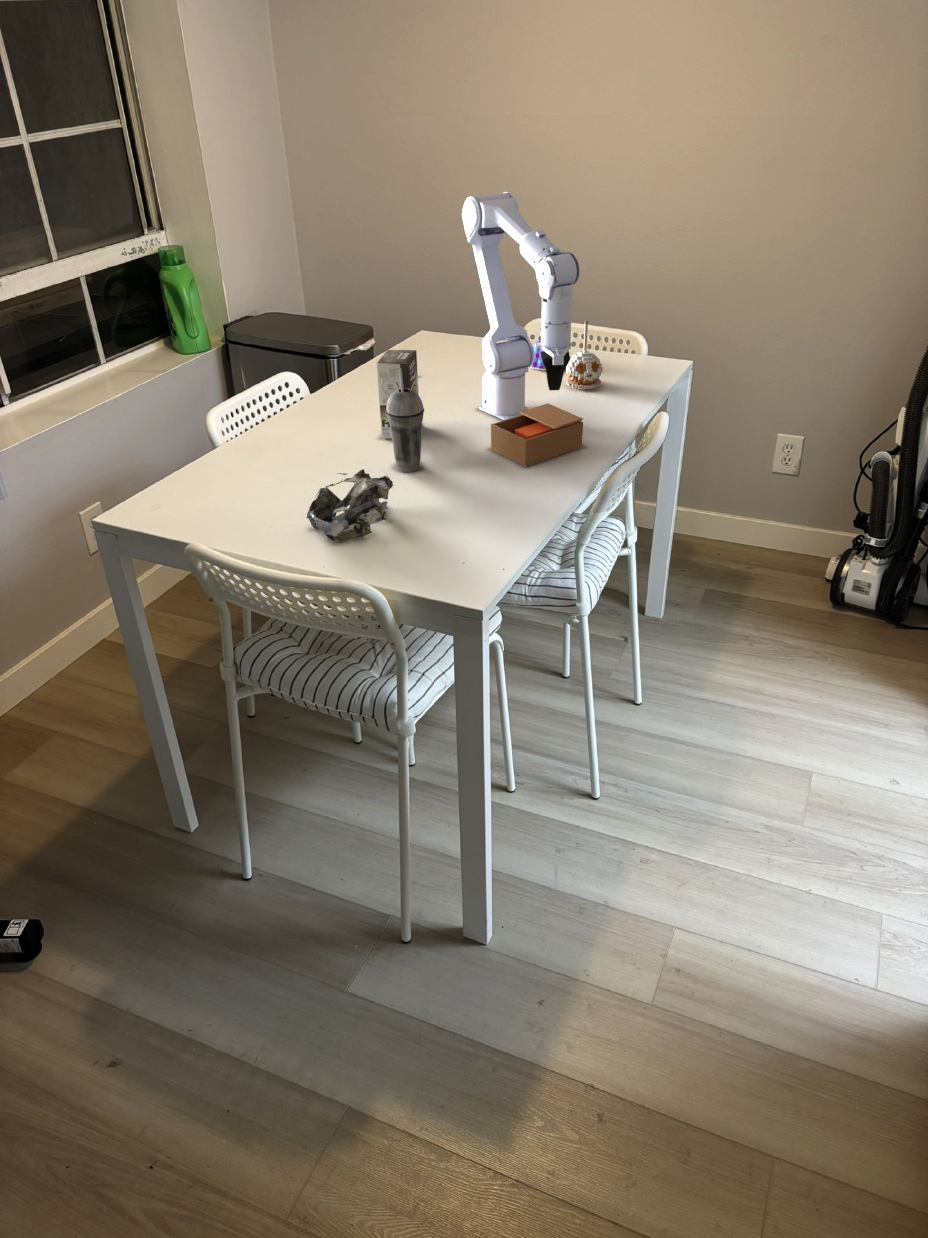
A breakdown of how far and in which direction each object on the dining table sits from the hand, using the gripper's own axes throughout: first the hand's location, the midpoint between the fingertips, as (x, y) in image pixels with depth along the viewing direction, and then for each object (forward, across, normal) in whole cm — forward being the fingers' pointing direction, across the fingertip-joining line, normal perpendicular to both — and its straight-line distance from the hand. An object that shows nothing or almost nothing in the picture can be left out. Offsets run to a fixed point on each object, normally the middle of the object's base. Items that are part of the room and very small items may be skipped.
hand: (554, 389), depth 190 cm
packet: (+10, +5, -4) cm, 12 cm away
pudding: (+11, -46, +2) cm, 47 cm away
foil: (+11, +37, -38) cm, 54 cm away
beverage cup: (+11, +13, -29) cm, 33 cm away
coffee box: (+11, -5, -31) cm, 34 cm away
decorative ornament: (+11, -31, +10) cm, 34 cm away
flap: (+5, +3, -1) cm, 6 cm away
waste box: (+10, +5, -4) cm, 12 cm away
